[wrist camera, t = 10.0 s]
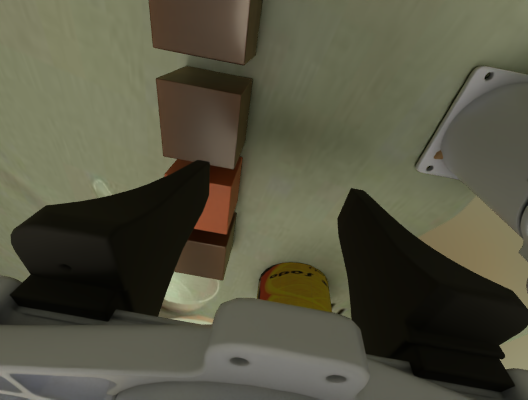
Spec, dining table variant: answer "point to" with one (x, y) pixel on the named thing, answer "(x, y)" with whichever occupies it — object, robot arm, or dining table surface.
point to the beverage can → (295, 286)
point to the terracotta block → (217, 196)
